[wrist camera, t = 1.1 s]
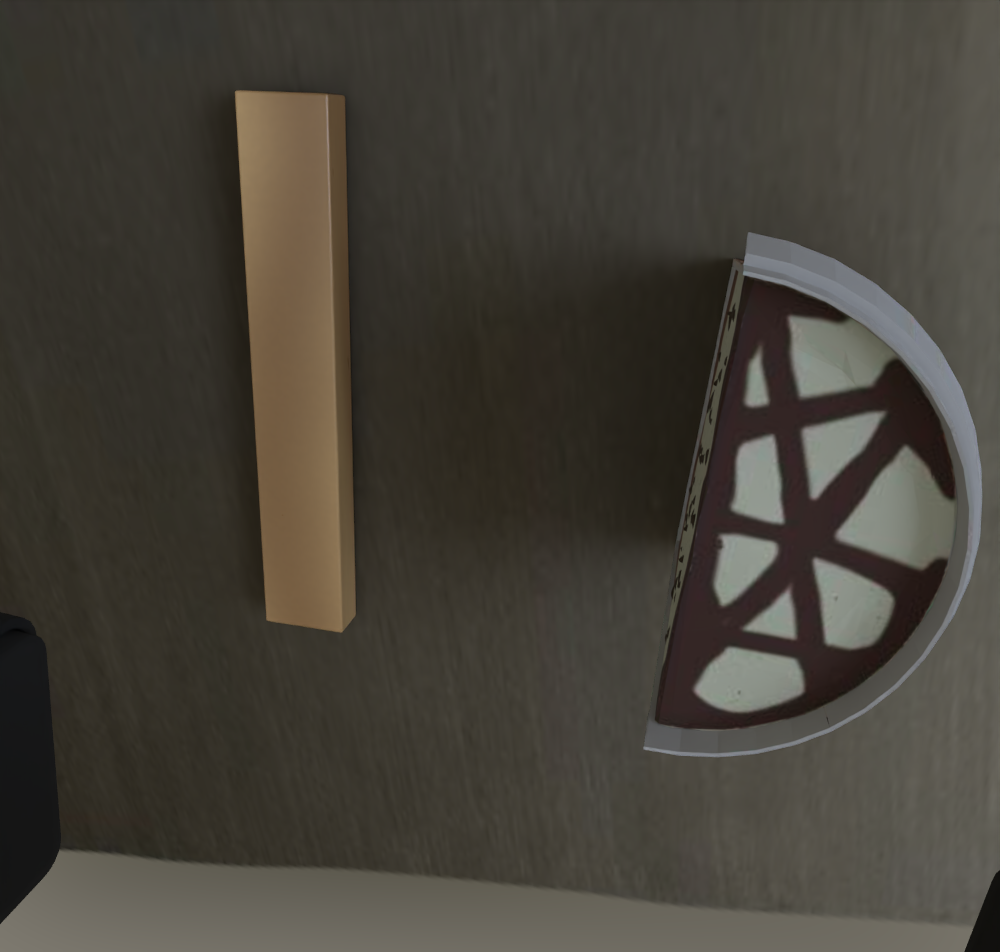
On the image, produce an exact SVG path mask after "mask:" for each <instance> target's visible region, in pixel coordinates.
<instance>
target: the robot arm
mask: <svg viewBox="0 0 1000 952" xmlns="http://www.w3.org/2000/svg"><path fill="white" fill-rule="evenodd" d="M60 843H61V832H60V819H59V806H58V793H57V781H56V768H55V755H54V743H53V730H52V717H51V704H50V692H49V679H48V666H47V654H46V647H45V643H44V642H43V640H42V639H41V638H40V637H38V636H36V631H35V628H34V626H33V625H32V623H31V622H30V621H28V620H26V619H25V618H22V617H18V616H14V615H9V614H5V613H1V612H0V924H1V923H2V922H3V920H4V919H5V918H6V917H7V916H8V915H9V914H10V913H11V912H12V911H13V910H14V909H15V908H16V907H17V906H18V904H19V903H20V902H21V901H22V900H23V899H24V898H25V897H26V896H27V895H28V894H29V893H30V891H32V889H33V888H34V887H35V886H36V885H37V884H38V883H39V882H40V881H41V880H42V879H43V877H44V876H45V875H46V874H47V872H48V871H49V870H50V869H51V867H52V865H53V863H54V862H55V859H56V857H57V854H58V852H59V848H60ZM965 952H1000V870H999V871H998V872H997V873H996V874H995V876H994V878H993V880H992V882H991V885H990V888H989V890H988V893H987V895H986V898H985V900H984V903H983V905H982V908H981V911H980V913H979V916H978V918H977V921H976V923H975V926H974V929H973V931H972V934H971V936H970V939H969V941H968V944H967V947H966V949H965Z"/></svg>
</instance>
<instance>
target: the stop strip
mask: <svg viewBox="0 0 1000 952" xmlns="http://www.w3.org/2000/svg"><path fill="white" fill-rule="evenodd" d="M235 103H236V120H237V136H238V153H239V170H240V186H241V203H242V220H243V236H244V253H245V270H246V287H247V303H248V320H249V337H250V353H251V370H252V387H253V403H254V420H255V437H256V453H257V470H258V487H259V503H260V520H261V537H262V553H263V570H264V587H265V603H266V619H267V621H271V622H278V623H284V624H290V625H296V626H303V627H309V628H315V629H322V630H328V631H334V632H343V631H344V629H345V628H346V627H347V626H348V624H349V623H350V622H351V621H352V619H353V618H354V617H355V615H356V596H355V549H354V502H353V455H352V407H351V360H350V313H349V266H348V219H347V172H346V125H345V97H344V96H343V95H338V94H329V93H305V92H274V91H243V90H237V91H235Z"/></svg>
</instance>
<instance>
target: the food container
mask: <svg viewBox="0 0 1000 952" xmlns="http://www.w3.org/2000/svg"><path fill="white" fill-rule="evenodd" d="M981 510H982V474H981V465H980V458H979V451H978V444H977V437H976V429H975V427H974V424H973V421H972V418H971V415H970V412H969V409H968V406H967V403H966V400H965V397H964V394H963V391H962V388H961V386H960V385H959V383H958V381H957V379H956V377H955V376H954V374H953V372H952V370H951V368H950V367H949V365H948V363H947V361H946V359H945V358H944V356H943V354H942V352H941V350H940V349H939V348H938V346H937V345H936V344H935V343H934V342H933V340H932V339H931V338H930V337H929V335H928V334H927V333H926V332H925V331H924V329H923V328H922V327H921V326H920V324H919V323H918V322H917V321H916V320H915V318H914V317H913V316H912V315H911V314H910V313H909V312H908V311H907V310H906V309H905V308H903V307H902V306H901V305H900V304H899V303H898V302H896V301H895V300H894V299H893V298H892V297H891V296H889V295H888V294H887V293H886V292H885V291H884V290H882V289H881V288H880V287H879V286H878V285H877V284H875V283H874V282H872V281H870V280H869V279H867V278H865V277H864V276H862V275H860V274H859V273H857V272H855V271H854V270H852V269H850V268H849V267H847V266H845V265H844V264H842V263H840V262H839V261H837V260H835V259H833V258H831V257H828V256H826V255H823V254H820V253H818V252H815V251H813V250H810V249H808V248H805V247H803V246H800V245H798V244H795V243H793V242H790V241H785V240H781V239H776V238H772V237H767V236H763V235H759V234H754V233H750V232H748V235H747V240H746V250H745V259H744V260H740V259H735V258H734V260H733V264H732V269H731V274H730V279H729V284H728V289H727V294H726V299H725V304H724V309H723V313H722V318H721V323H720V328H719V333H718V338H717V343H716V348H715V353H714V358H713V363H712V367H711V372H710V377H709V382H708V387H707V392H706V397H705V402H704V407H703V412H702V417H701V421H700V426H699V431H698V436H697V441H696V446H695V451H694V456H693V461H692V466H691V470H690V475H689V480H688V485H687V490H686V495H685V500H684V505H683V510H682V515H681V520H680V524H679V529H678V534H677V539H676V544H675V551H674V557H673V564H672V570H671V576H670V583H669V589H668V596H667V602H666V609H665V615H664V621H663V628H662V634H661V641H660V647H659V653H658V660H657V666H656V673H655V679H654V685H653V692H652V698H651V705H650V711H649V713H648V717H647V724H646V732H645V740H644V742H645V744H644V750H650V751H656V752H662V753H667V754H673V755H680V756H703V757H725V756H737V755H748V754H758V753H762V752H767V751H771V750H775V749H780V748H784V747H789V746H793V745H796V744H799V743H802V742H804V741H807V740H810V739H812V738H815V737H818V736H820V735H823V734H826V733H828V732H831V731H833V730H835V729H837V728H838V727H840V726H842V725H844V724H846V723H847V722H849V721H851V720H853V719H855V718H857V717H858V716H860V715H862V714H864V713H866V712H867V711H868V710H870V709H871V708H872V707H874V706H875V705H876V704H877V703H879V702H880V701H881V700H883V699H884V698H885V697H887V696H888V695H889V694H890V693H892V692H893V691H894V690H896V689H897V688H898V687H899V686H900V685H901V684H902V683H903V682H904V681H905V679H906V678H907V677H908V676H909V675H910V674H911V673H912V672H913V671H914V670H915V669H916V668H917V667H918V666H919V665H920V664H921V662H922V661H923V660H924V659H925V658H926V656H927V655H928V653H929V652H930V651H931V649H932V648H933V646H934V645H935V643H936V642H937V640H938V639H939V637H940V636H941V634H942V633H943V632H944V630H945V629H946V627H947V626H948V624H949V623H950V621H951V620H952V618H953V617H954V614H955V612H956V610H957V608H958V605H959V603H960V601H961V599H962V596H963V594H964V592H965V590H966V587H967V585H968V583H969V581H970V578H971V574H972V570H973V565H974V561H975V557H976V553H977V549H978V545H979V541H980V528H981Z"/></svg>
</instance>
